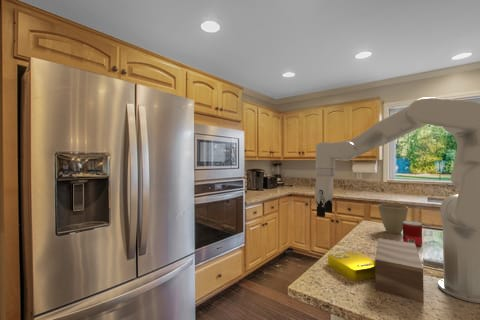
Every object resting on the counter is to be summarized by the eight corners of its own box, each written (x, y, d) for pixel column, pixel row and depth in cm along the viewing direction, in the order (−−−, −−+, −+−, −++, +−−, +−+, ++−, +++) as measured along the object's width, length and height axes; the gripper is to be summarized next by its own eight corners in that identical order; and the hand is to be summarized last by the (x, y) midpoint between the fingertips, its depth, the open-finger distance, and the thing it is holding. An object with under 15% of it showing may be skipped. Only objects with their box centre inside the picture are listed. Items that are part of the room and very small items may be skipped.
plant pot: (395, 228, 144) (395, 203, 145) (415, 235, 130) (414, 207, 130) (373, 229, 143) (372, 203, 144) (390, 236, 129) (389, 208, 129)
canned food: (426, 246, 113) (425, 224, 113) (410, 246, 113) (409, 224, 113) (414, 241, 121) (414, 220, 121) (399, 241, 121) (399, 220, 121)
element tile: (352, 282, 81) (351, 269, 81) (325, 264, 96) (325, 253, 96) (385, 276, 85) (385, 263, 85) (355, 260, 100) (355, 249, 100)
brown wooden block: (378, 262, 97) (378, 237, 97) (415, 269, 90) (414, 243, 90) (375, 290, 76) (375, 259, 76) (423, 302, 69) (423, 268, 69)
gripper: (322, 171, 102) (322, 209, 102) (308, 173, 89) (307, 216, 89) (340, 172, 98) (339, 212, 98) (328, 174, 84) (327, 220, 84)
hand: (324, 214), depth 93 cm, fingers open, 9 cm apart
